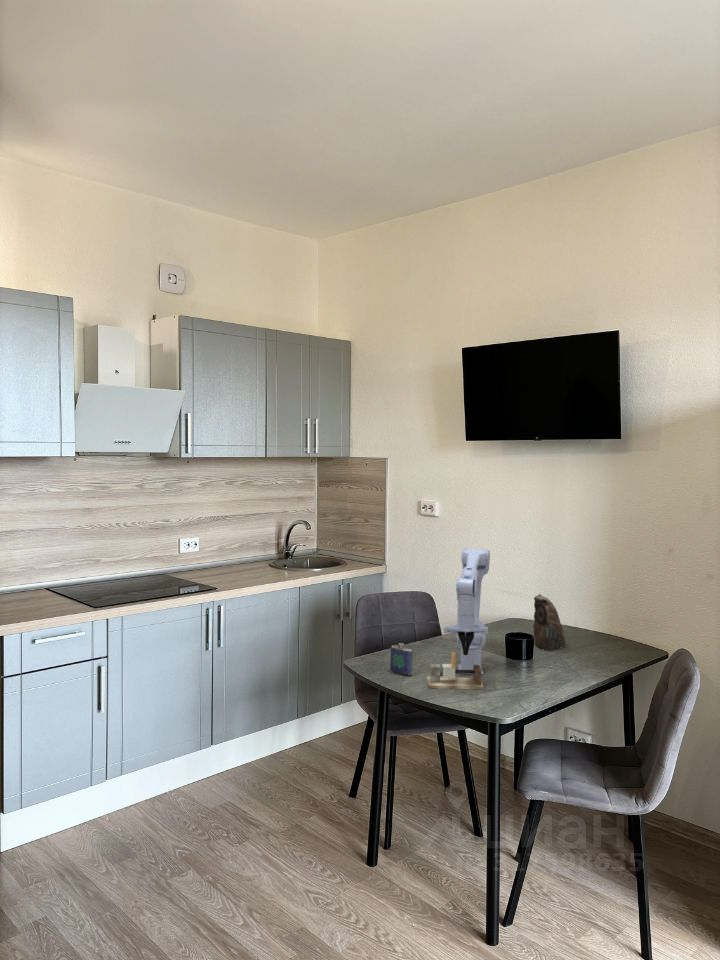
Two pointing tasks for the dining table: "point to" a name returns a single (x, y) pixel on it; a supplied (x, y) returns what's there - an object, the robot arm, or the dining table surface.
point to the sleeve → (449, 668)
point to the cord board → (456, 683)
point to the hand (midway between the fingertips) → (465, 654)
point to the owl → (547, 625)
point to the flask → (401, 660)
